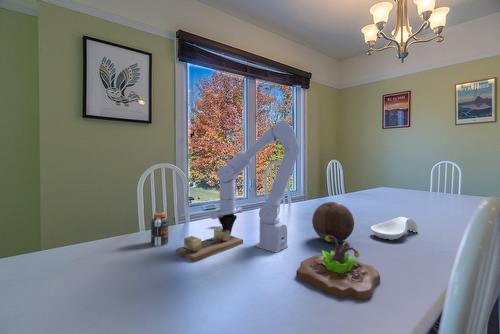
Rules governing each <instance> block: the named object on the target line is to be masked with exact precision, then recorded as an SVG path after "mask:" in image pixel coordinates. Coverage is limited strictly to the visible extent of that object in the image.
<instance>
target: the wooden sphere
mask: <svg viewBox="0 0 500 334" xmlns="http://www.w3.org/2000/svg"><path fill="white" fill-rule="evenodd" d="M311 221H312V222H311V224H312V227H313V230H314V232H315V234H317V236H318V237H319V238H320V239H322V240H324V241H326V239H325V238H326V236H328V235H329V236H330V235H331V236H333V237H335V238H336V240H337V242H338V243H340V242H344V241H346V240H347V239H348V238H349V237H350V236H351V234H352V233H353V231H354V226H355V219H354V216H353V213H352V212H351V210H350V209H349V207H347V206H346V205H344V204H342V203H339V202H335V201H327V202H325V203H322V204H321V205H319V206H318V207H317V208H315V210H314V212H313V215H312V218H311ZM326 242H327V241H326ZM328 243H335V241H334V239H331V241H329V242H328Z"/></svg>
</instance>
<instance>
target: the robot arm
mask: <svg viewBox="0 0 500 334" xmlns="http://www.w3.org/2000/svg"><path fill="white" fill-rule="evenodd" d="M278 142H279V143H280V145H281V147H282V149H283V150H284V154H283V156H282V159H281V161H280V164H279V167H278V169H277V172H276V176H275V178H274V180H273V183H272V186H271V189H270V191H269V194H268V196H267V198H266V200H265V203H264V204H263V205H262V207H260V209H259V211H258V215H259V241H258V243H256V244H255V243H254V247H257V248H259V249H262V250H267V251H269V252H273V253H279V252H280V251H282V250H284V249H286V248H288V247H289V244H288V228H287V225H286V224H284V223H281V220H280V218H279V214H280V213H281V209H280V205H281V203H282V202H281V201H282V198H283V196H284V193H285V191H286V187H287V185H288V183H289V180H290V177H291V175H292V171H293V169H294V166H295V164H296V161H297V159H298V156H299V153H300V147H299V142H298V138H297V134H296V132H295V130H294V129H293V127H292V126H291V124H290V123H289V122H288V121H286V120H280V121H277V122H275V123H274V125H273V126H271V127H269V128H268V129H267V130H266V131H264V133H263V134H262V135H260V137H258V139H257V140H256V141H255V142H253V144H251V145H250V147H248V148H247V150H240V151H239V152H238V151H237V152H236V153H234V157H232V159H231V160H229V161H226V163H225V165H222V166H220V167H219V169H218V171H217V177H218V179H219V208H218V210H217V211H214V212H211V213H210V219H212V220H217V219H218V222H219V221H220V222H221V224H220V225H221V226H222V227H221V228H223V229H227V230H230V235H231V234H232V229H233V227H234V224H235V221H236V220H237V218H238V217H237V215H236V214H241V213H243V207H240V206H237V207H236V179H237V177H238V175H239V174H241V173H243V171H244V170H246V169H247V167H249V166H250V165H251V164H252V159H253V157H254V156H256V155H257V154H258V153H259V152H261V151H262V150H263V149H264V148H266V146H268V145H269V144H274V143H278ZM220 222H219V223H220Z"/></svg>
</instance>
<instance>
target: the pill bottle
mask: <svg viewBox="0 0 500 334" xmlns="http://www.w3.org/2000/svg"><path fill="white" fill-rule="evenodd" d="M168 243H169V219H168V217H166V212H164V211H158V212H154V213H153V218H152V219H151V221H150V244H151V245H152V246H155V247H160V246H165V245H167V244H168Z"/></svg>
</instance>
